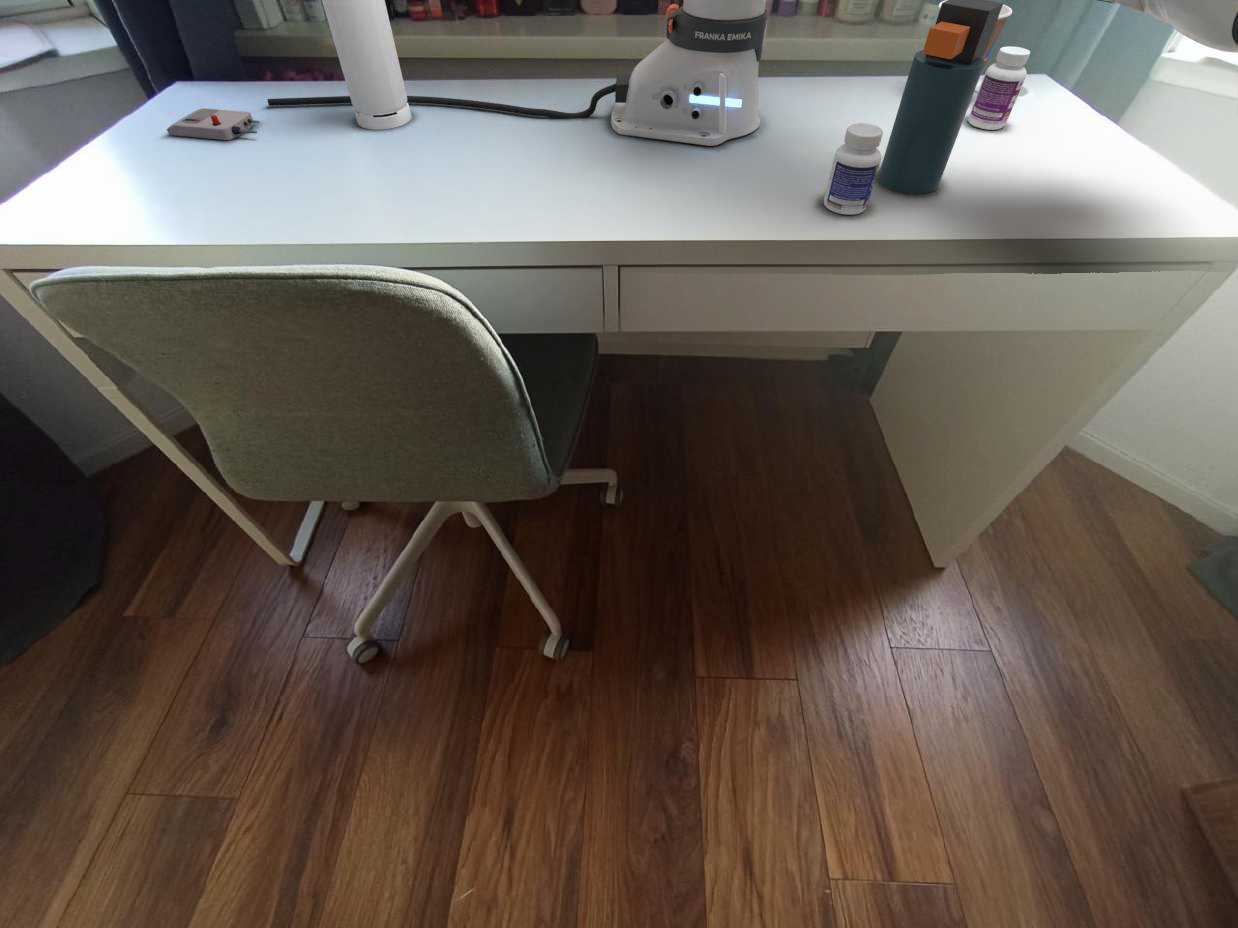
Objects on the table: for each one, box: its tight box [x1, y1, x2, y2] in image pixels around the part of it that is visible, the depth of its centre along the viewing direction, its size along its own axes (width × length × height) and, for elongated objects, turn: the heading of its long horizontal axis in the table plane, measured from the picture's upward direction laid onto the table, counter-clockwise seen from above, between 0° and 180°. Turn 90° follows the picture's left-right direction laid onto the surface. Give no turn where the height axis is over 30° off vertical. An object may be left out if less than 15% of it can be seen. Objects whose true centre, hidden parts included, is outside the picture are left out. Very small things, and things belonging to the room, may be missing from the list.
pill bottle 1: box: [823, 122, 884, 216], centre depth 75 cm, size 5×5×9 cm
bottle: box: [321, 0, 412, 131], centre depth 87 cm, size 8×8×28 cm
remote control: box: [166, 107, 261, 141], centre depth 93 cm, size 7×16×3 cm, turn 78°
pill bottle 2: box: [967, 45, 1031, 131], centre depth 92 cm, size 5×5×10 cm
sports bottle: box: [877, 0, 1004, 195], centre depth 76 cm, size 8×8×19 cm
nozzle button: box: [922, 22, 970, 59], centre depth 69 cm, size 3×3×2 cm
